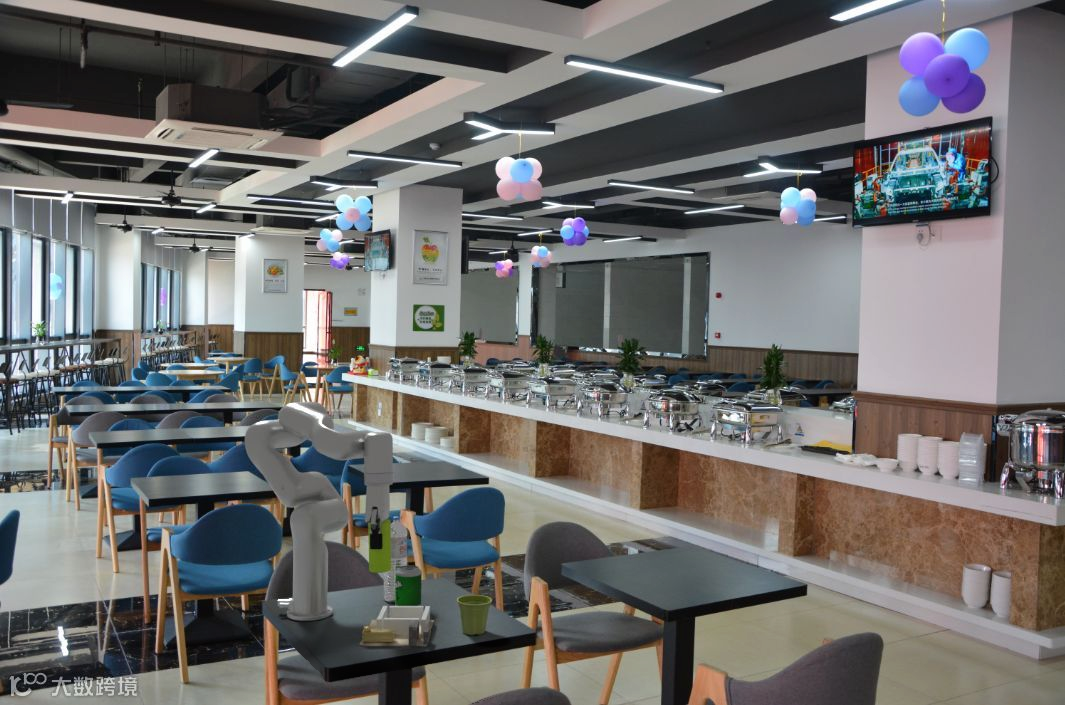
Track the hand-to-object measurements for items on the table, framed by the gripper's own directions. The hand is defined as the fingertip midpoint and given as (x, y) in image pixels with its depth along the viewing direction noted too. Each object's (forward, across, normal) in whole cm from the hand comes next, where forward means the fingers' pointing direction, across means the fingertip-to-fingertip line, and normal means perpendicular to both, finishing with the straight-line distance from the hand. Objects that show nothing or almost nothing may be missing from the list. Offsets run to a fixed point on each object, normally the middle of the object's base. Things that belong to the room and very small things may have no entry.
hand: (378, 545), depth 225 cm
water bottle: (+23, -30, -1) cm, 38 cm away
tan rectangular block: (+22, +9, +2) cm, 24 cm away
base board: (+23, 0, +5) cm, 24 cm away
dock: (+23, -3, +6) cm, 24 cm away
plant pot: (+24, -2, +25) cm, 35 cm away
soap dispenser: (+7, 0, 0) cm, 7 cm away
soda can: (+23, -21, +4) cm, 31 cm away
